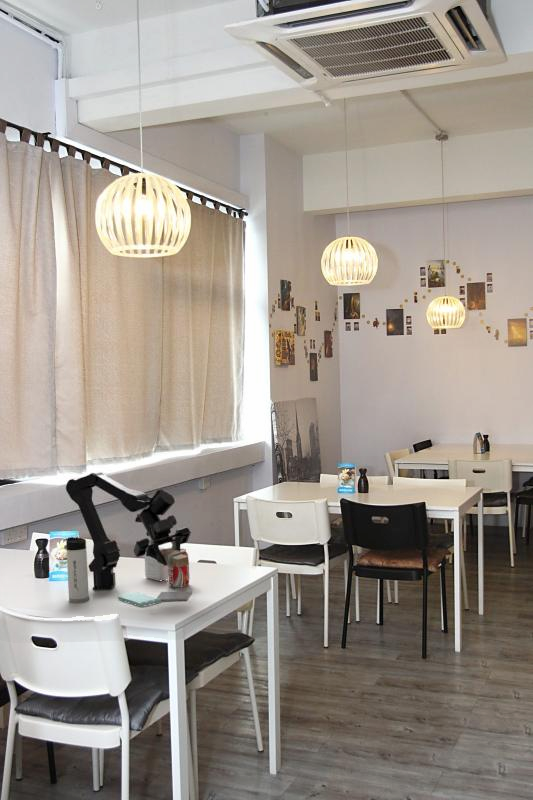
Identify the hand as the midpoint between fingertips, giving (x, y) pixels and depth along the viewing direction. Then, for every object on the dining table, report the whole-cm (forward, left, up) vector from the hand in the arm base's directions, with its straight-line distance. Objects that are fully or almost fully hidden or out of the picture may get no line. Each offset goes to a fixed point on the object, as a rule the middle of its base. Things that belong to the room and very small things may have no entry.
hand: (173, 562), depth 268 cm
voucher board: (-11, -2, -11) cm, 16 cm away
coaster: (-1, +2, -11) cm, 12 cm away
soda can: (-2, +17, -12) cm, 21 cm away
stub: (+4, -6, +1) cm, 7 cm away
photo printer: (-12, +28, -12) cm, 33 cm away
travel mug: (-32, +1, -12) cm, 34 cm away
